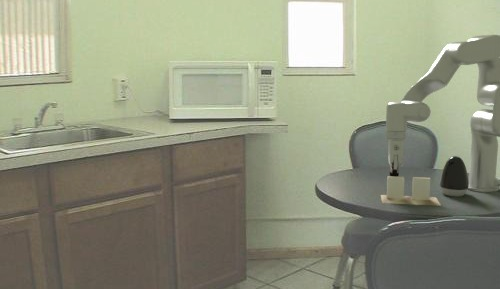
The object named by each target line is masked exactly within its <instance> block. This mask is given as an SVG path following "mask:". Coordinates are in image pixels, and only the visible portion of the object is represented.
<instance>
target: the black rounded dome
mask: <svg viewBox="0 0 500 289" xmlns="http://www.w3.org/2000/svg"><path fill="white" fill-rule="evenodd" d="M439 178H440V179H439V184H438V185H439V187H440V190H441V192H442V193H443V195H445V196H448V197H454V198H455V197H457V198H458V197H463V196H464V195H465V194H466V193H467V191H468V190H469V189H468V187H469V183H468V182H469V175H468V171H467V167H466V164H465V162H464V160H463V159H462V158H461V157H460V156H457V155H453V156H450V157H449V158H448V159H447V161H446V162H445V164H444V166H443V168H442V172H441V174H440V177H439Z"/></svg>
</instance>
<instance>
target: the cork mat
mask: <svg viewBox="0 0 500 289" xmlns="http://www.w3.org/2000/svg"><path fill="white" fill-rule="evenodd" d="M386 196H387V194H380V200H381V203H382V204H395V205H396V204H397V205H415V206H419V205H420V206H434V207H435V206H437V207H442V205H441V203H440V202H439V200H438V198H437V197H435V196H430V198H429V200H416V199H412V195H404V199H395V198H387V197H386Z"/></svg>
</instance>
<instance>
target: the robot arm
mask: <svg viewBox="0 0 500 289" xmlns="http://www.w3.org/2000/svg"><path fill="white" fill-rule="evenodd" d="M476 64H477V67H478V80H477V90H476V91H477V92H476V99H477V101H478V103H479V104H480V105H483V106H486V107H492V109H487V108H486V109H485V108H484V109H483V108H482V109H478V110H476V111H475V112H474V113H473V114H472V116H471V118H470V124H469V125H470V126H469V127H470V131H471V132H470V133H471V144H470V145H471V147H470V159H469V160H470V161H469V173H468V174H469V175H468V183H469V187H468V189H467V190H470V191H474V192H481V193H494V192H496V193H497V192H498V191H500V179H498V178H497V176H496V175H497V166H498V165H497V163H498V153H499V152H498V151H499V142H498V138H500V34H486V35H483V34H481V35H475V36H472V37H470V38H469V39H468V40H467V41H454V42H450V43H448V44H446V45H445V47H444V48H443V49H442V51H440V54H439V55H438V56H437V58H436V59H435V61H434V62H433V63H432V65H431V67H430V69H429V70H428V72H427V73H426V74H425V75H424V76H422V77H421V78H420V79H419V80H418V81H416V83H414V84H413V85H412V86H411V87H410V88H409V89H408V90H407V92H406V93H405V94H404V96H403V98H402V99H401V101H391V102H388V103H387V105H386V113H385V115H386V117H385V140H388V143H387V144H388V147H387V148H388V150H387V152H388V153H387V154H388V156H387V157H388V158H387V160H388V164H389V167H390V169H389V170H390V171H389V176H399V169H400V167H399V166H401V167H403V166H404V141H406V140H407V127H408V126H407V125H408V122H414V123H422V122H425V121H427V120H428V119H429V118H430V116H431V112H432V110H431V108H430V106H429V105H428V104H427V103H425V102H423V101H424V100H425V99H426V98H427V97H428V96H430V95H431V94H433V93H436V92H437V91H440V90H442V89H443V88H445V87H447V86H448V84H449V83H450V82H451V80H452V78H454V76H455V74H456V72H457V71H458V70H459V69H460V67H461V66H470V65H471V66H472V65H476Z"/></svg>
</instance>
